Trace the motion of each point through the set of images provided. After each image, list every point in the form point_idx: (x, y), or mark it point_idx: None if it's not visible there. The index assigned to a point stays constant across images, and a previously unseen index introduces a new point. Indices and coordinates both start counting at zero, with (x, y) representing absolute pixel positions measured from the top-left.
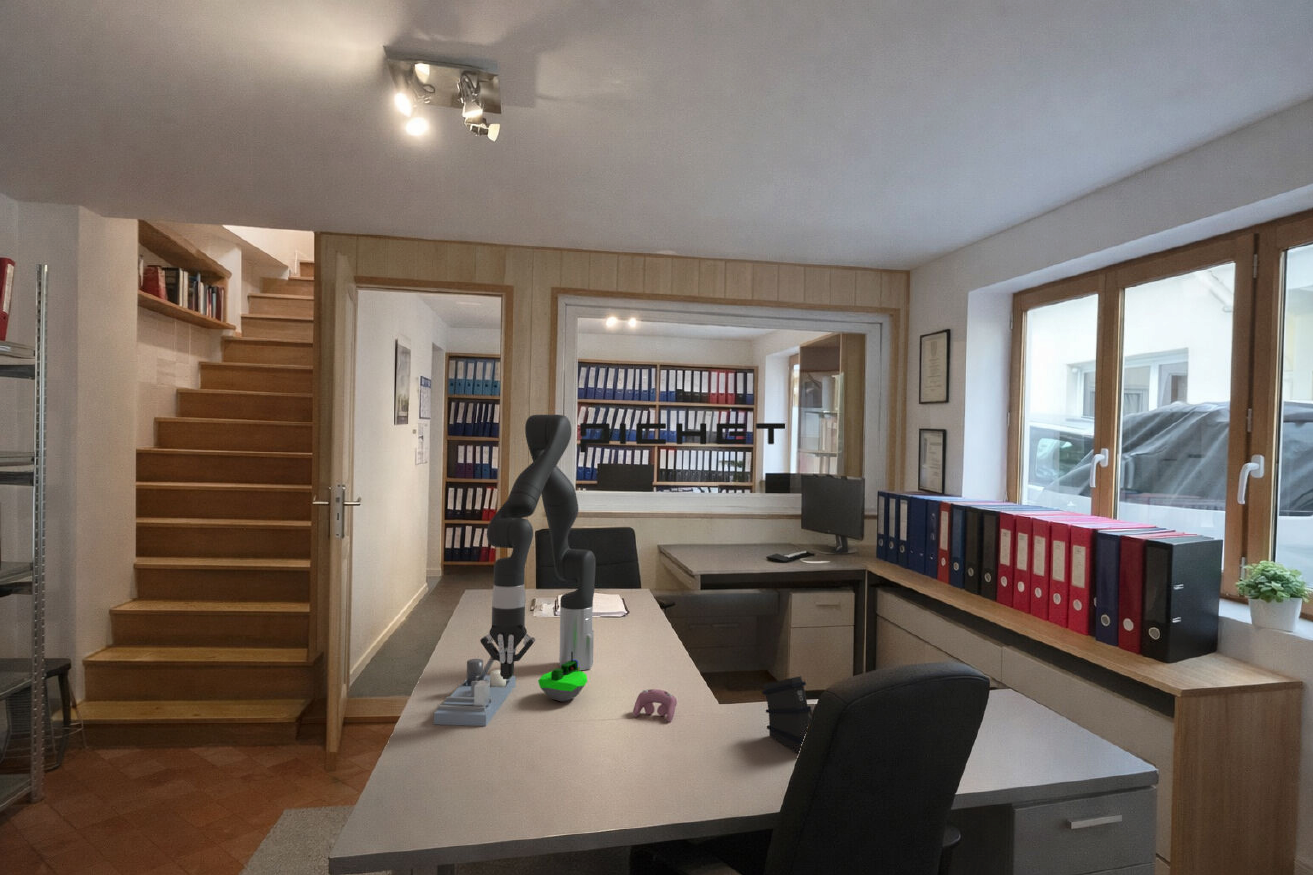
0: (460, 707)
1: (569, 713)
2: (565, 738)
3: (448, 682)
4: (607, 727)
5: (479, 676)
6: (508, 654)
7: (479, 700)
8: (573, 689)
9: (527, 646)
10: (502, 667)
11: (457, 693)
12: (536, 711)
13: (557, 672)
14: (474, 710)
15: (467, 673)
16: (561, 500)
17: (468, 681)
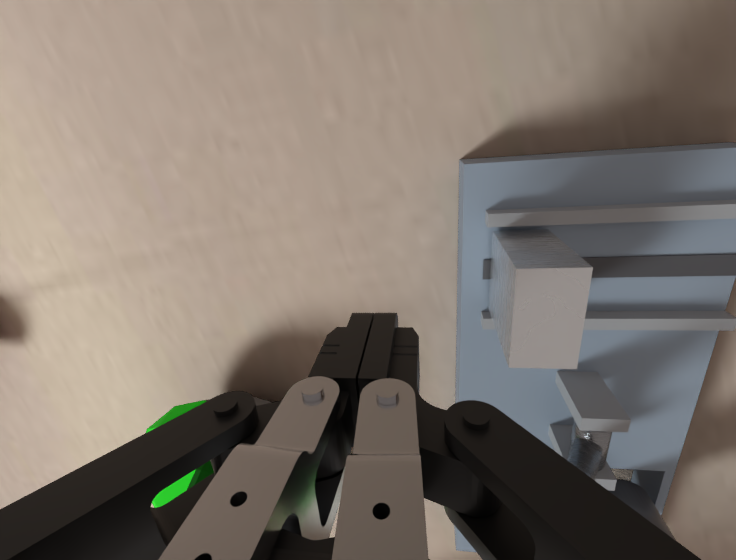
0: (625, 207)
1: (189, 317)
2: (98, 91)
3: (721, 541)
4: (18, 218)
5: (595, 461)
6: (306, 444)
7: (529, 241)
8: (166, 413)
9: (4, 530)
10: (398, 367)
11: (672, 397)
12: (306, 323)
13: (197, 480)
14: (539, 207)
15: (669, 531)
16: None
17: (642, 492)
